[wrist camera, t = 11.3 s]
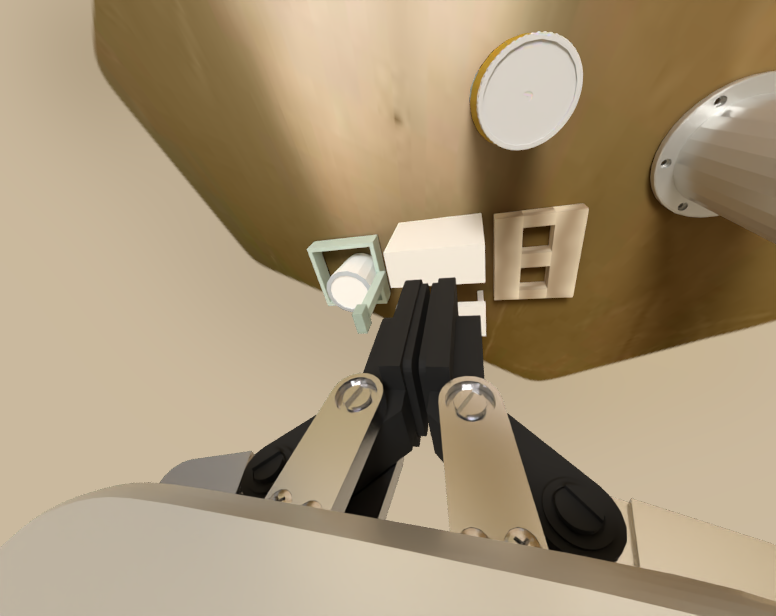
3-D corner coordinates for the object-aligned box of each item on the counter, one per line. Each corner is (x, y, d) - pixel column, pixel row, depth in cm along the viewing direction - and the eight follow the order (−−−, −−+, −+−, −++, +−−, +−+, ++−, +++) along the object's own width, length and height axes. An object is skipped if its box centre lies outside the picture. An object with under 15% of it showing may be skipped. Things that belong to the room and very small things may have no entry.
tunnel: (481, 213, 38) (484, 243, 31) (482, 294, 45) (486, 336, 37) (398, 223, 41) (383, 253, 34) (412, 298, 48) (401, 336, 41)
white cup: (375, 293, 49) (363, 319, 44) (337, 276, 49) (321, 300, 43) (391, 261, 45) (380, 285, 39) (349, 241, 44) (333, 263, 39)
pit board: (583, 203, 35) (588, 208, 33) (568, 289, 42) (572, 297, 40) (493, 213, 38) (494, 219, 36) (493, 292, 44) (494, 300, 43)
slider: (383, 233, 42) (353, 286, 31) (396, 293, 48) (374, 356, 37) (314, 241, 45) (264, 291, 34) (333, 296, 51) (296, 355, 40)
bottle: (557, 84, 29) (618, 82, 18) (500, 146, 33) (518, 179, 22) (509, 28, 28) (539, -15, 16) (455, 101, 32) (448, 109, 20)
